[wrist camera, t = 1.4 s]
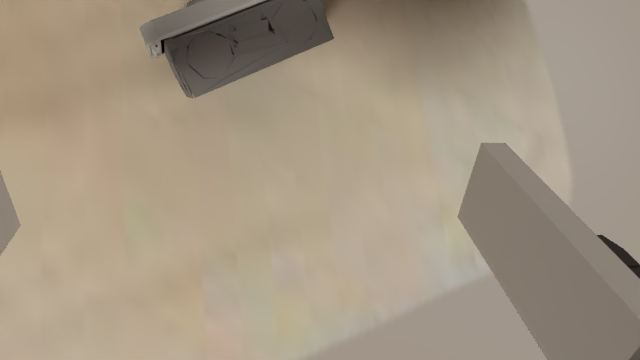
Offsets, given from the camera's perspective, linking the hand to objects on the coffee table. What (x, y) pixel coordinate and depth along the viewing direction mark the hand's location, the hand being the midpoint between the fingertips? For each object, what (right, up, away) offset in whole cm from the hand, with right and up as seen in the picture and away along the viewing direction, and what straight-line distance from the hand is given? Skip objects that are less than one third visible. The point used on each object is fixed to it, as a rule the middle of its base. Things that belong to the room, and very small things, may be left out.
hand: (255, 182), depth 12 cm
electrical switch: (-4, +8, +16) cm, 19 cm away
